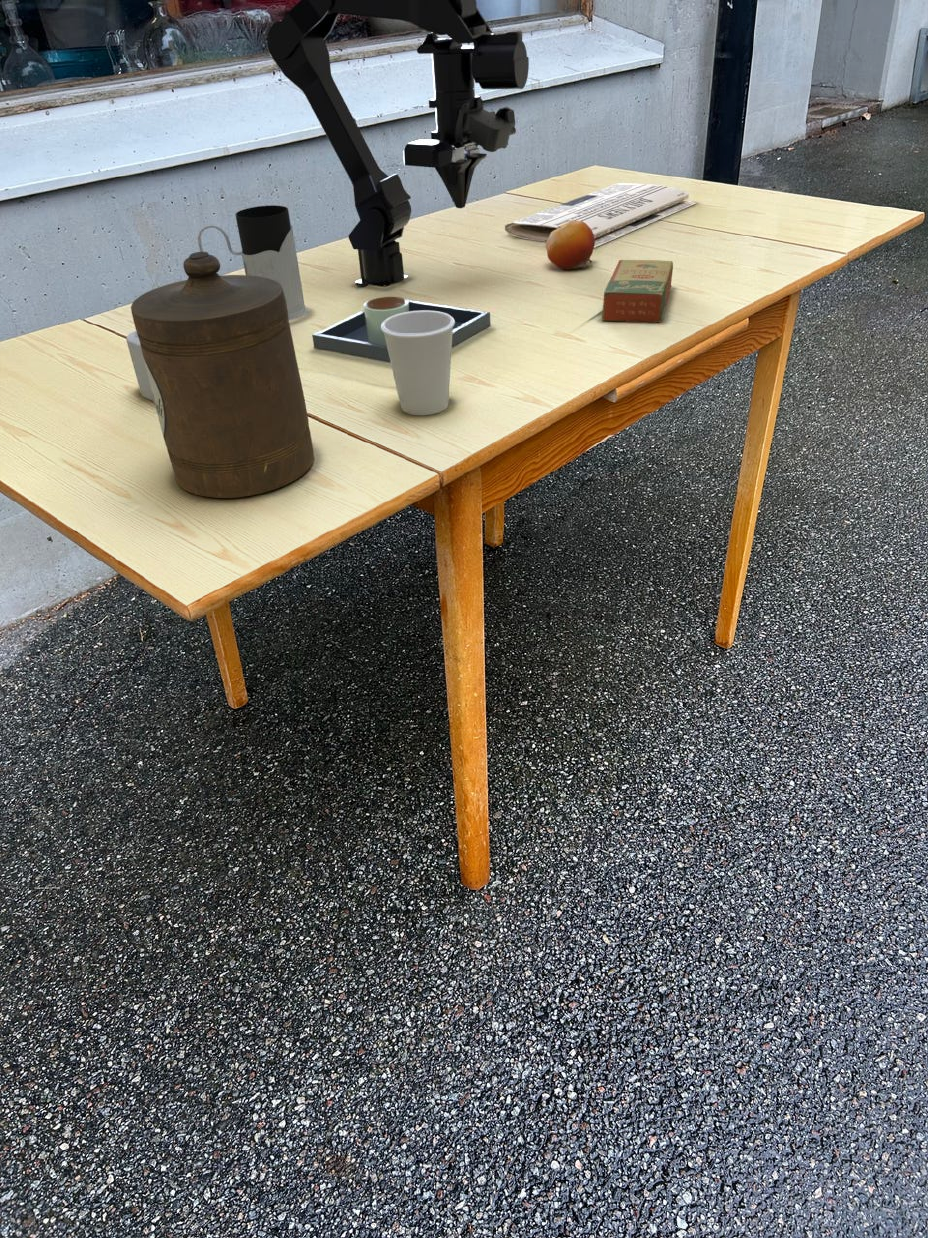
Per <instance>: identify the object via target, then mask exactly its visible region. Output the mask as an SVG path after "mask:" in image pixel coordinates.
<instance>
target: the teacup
mask: <svg viewBox="0 0 928 1238" xmlns="http://www.w3.org/2000/svg"><path fill="white" fill-rule="evenodd" d="M408 300H409V299H407V298H404V297H402V296H382V297H381V296H380V297H376V298H373V299H372V298H371V299H370V300H367V301H365V303H364V304H363V310H364V312H365V320H366V329H367V337H368V342H369V343H374V344H380V345H385V346H387V344H386V340H385V336H384V332H383V331H382V330H381V324H382V323H383V322H384V321H385V320H386V319H387V318H389V317H391V316H393V315H396V314H400V313H404V312H410V311H409V302H408Z"/></svg>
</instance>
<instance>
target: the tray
mask: <svg viewBox="0 0 928 1238" xmlns="http://www.w3.org/2000/svg"><path fill="white" fill-rule="evenodd" d="M407 300H408V302H409V311H420V310H430V311H439V312H443V313H446V314H449V315H450V316H452V317H453V318H454V320H455V324H454V326H453V332H452V349H454V348H455V347H457V346H458V345H460V344H462V343H464V342H465V341H467V340H468V339H471V338H472V337H474V336H475V335H477V334H479V333H481V332H482V331H484V330H486V329H488V328H489V327H491V326H492V325H491V312H490V311H484V310H477V309H470V308H463V307H457V306H449V305H444V304H443V305H442V304H435V303H430V302H422V301H415V300H409V299H407ZM311 335H312V337H311V338H312V343H313V348H314V349H317V350H322V351H326V352H327V351H328V352H331V353H338V354H343V355H348V356H353V357H358V358H363V359H369V360H375V361H379V362H385V363H390V364H391V362H390V357H389V353H388V349H387V346H385V345H380V344H374V343H369V342H368V337H367V329H366V320H365V312H364V309H363V310H361V311H359V312H357V313H354V314H352V315H350V316H349V317H346V318H344V319H342V320H340V321H338V322H336V323H333V324H332V325H329V326H328V327H326V328H325V327H324V329H321V330H319V331H317V332H315V333H314V334H311Z"/></svg>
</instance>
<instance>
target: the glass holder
mask: <svg viewBox="0 0 928 1238" xmlns="http://www.w3.org/2000/svg"><path fill="white" fill-rule="evenodd" d="M234 216H235V221H236V226H237V231H238V235H239V242H240V247H241V251H234V250H233V249H232V245H231V240H230V238H229V236H228V233H227V232H226V230H224V228H222V227H220V226H219V225H217V224H207V225H205V226H203V227H202V228H201V229H200V230H199V233H198V235H197V242H198V248H199V249H198V250H199V252H204V249H203V246H202V233H203V232H204V231H205V230H207V229H210V228H213V229H216V230H218V231H219V232H220V233H221V234H222V235H223V237H224V239H225V241H226V244H227V248H228V251H229V252H230V253H231V254H232V255H234V256H241V258H242V263H243V268H244V275H250V276H259V277H265V278H269V279H272V280H275V281H277V282H278V283H280V284H281V286H282V288H283V291H284V295H285V299H286V304H287V310H288V318H289V322H290V321H292V320H296V319H299V318H301V317H303V316H304V315H306V314H307V313H309V310H308V308H307V307H306V304H305V298H304V291H303V285H302V278H301V273H300V272H301V271H300V267H299V260H298V254H297V248H296V247H297V246H296V242H295V236H294V229H293V225H292V224H291V219H290V217H291V216H290V211H289V208H288V207H287V206H285V205H274V204H273V205H271V204H269V205H258V206H251V207H247V208H243V209H241V210H239V211H237V212H235V215H234Z"/></svg>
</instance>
